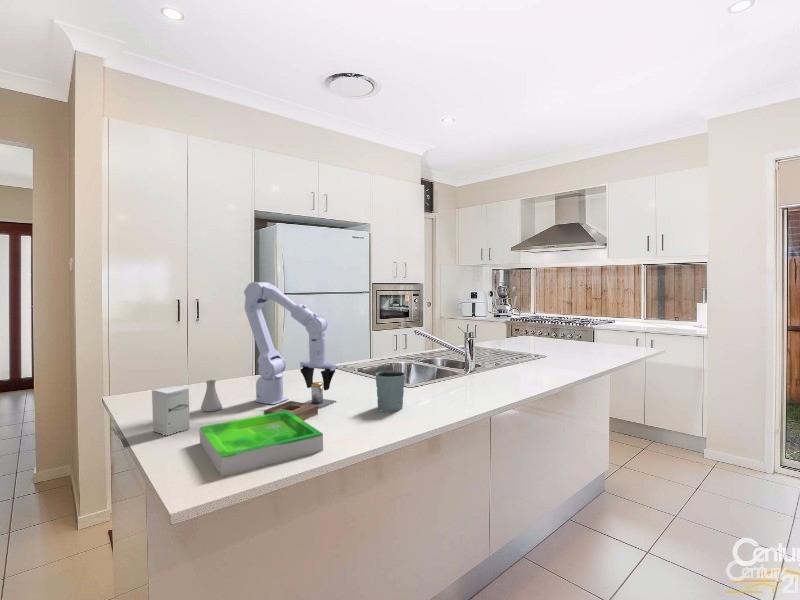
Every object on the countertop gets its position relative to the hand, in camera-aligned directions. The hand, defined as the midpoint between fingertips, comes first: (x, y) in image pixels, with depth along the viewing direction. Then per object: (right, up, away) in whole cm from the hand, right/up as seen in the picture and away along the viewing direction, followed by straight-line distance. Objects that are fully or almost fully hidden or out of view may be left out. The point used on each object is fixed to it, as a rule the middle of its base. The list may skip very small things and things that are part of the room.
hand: (318, 388), depth 155 cm
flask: (-36, -6, -5) cm, 37 cm away
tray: (-8, -8, -40) cm, 41 cm away
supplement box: (-38, -7, -27) cm, 47 cm away
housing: (-6, -6, -15) cm, 17 cm away
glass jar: (0, -5, 0) cm, 5 cm away
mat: (0, -5, 0) cm, 5 cm away
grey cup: (+26, -6, -6) cm, 28 cm away
